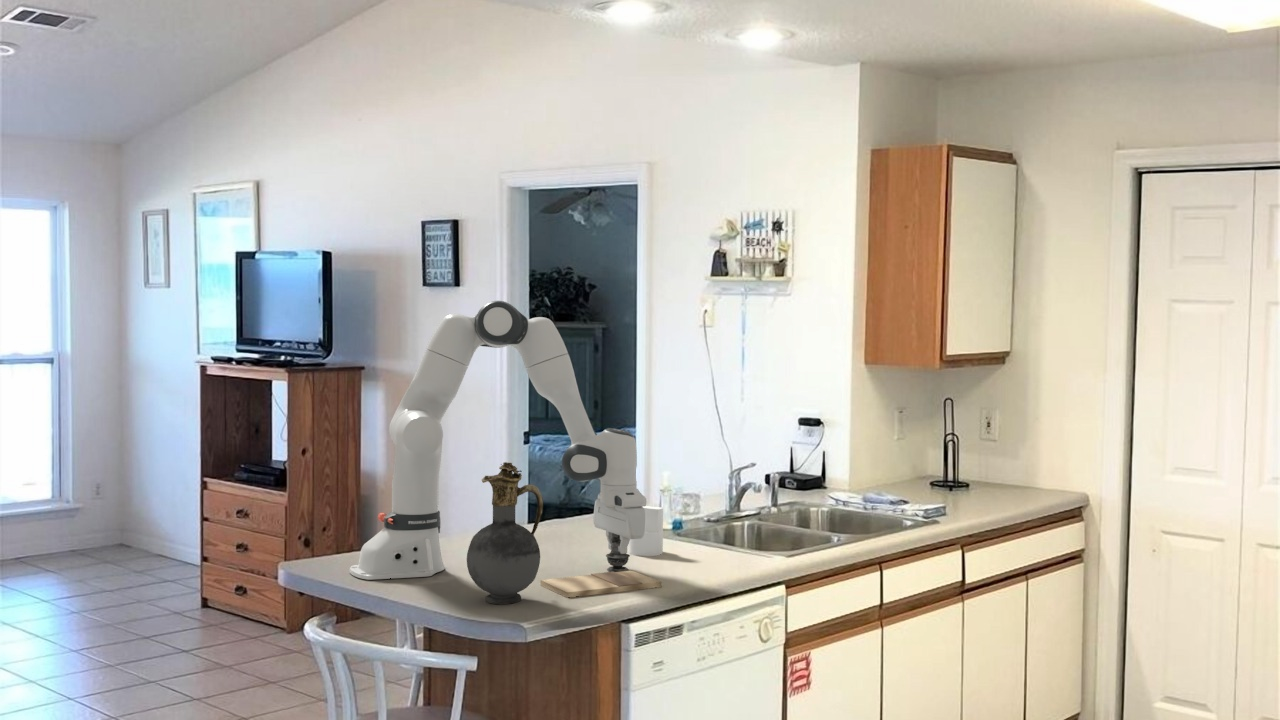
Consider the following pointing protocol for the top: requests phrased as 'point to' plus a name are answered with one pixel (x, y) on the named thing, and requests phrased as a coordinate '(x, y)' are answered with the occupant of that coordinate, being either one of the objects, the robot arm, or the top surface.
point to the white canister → (649, 534)
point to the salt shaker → (616, 556)
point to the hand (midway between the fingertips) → (617, 551)
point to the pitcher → (505, 542)
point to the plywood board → (600, 583)
